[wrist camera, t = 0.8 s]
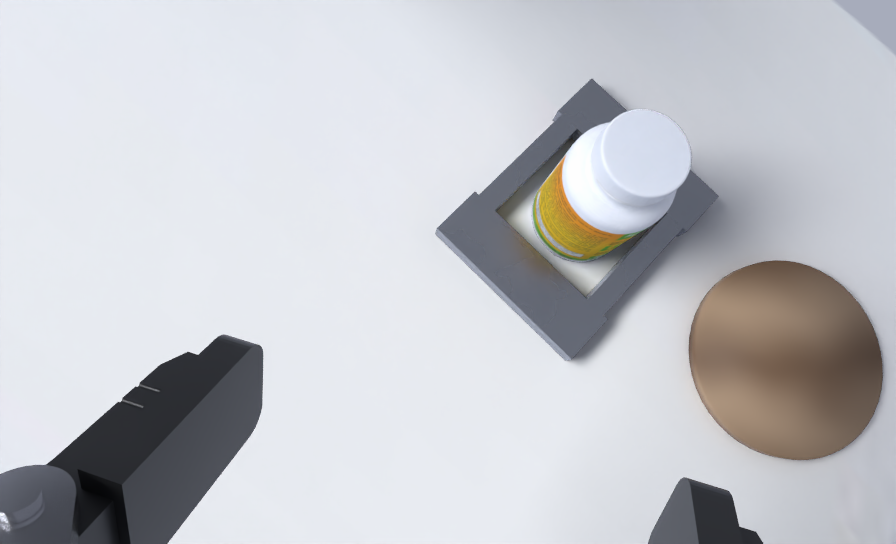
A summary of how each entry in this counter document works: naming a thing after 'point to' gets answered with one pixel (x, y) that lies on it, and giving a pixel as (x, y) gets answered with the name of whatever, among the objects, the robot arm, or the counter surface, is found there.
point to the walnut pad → (786, 360)
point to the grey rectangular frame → (525, 270)
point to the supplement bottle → (611, 185)
